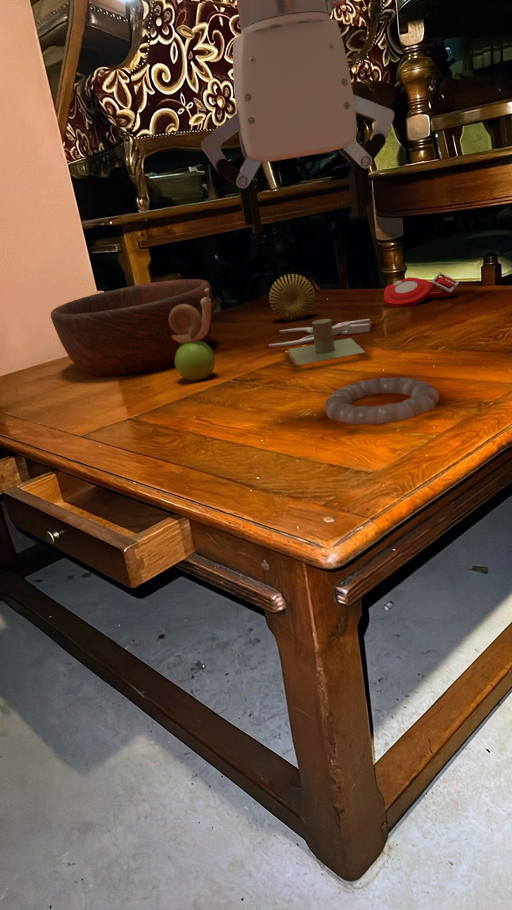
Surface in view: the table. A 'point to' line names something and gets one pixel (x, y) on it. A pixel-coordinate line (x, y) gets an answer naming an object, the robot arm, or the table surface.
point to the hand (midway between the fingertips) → (308, 224)
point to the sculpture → (292, 297)
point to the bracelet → (419, 403)
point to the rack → (324, 345)
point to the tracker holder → (417, 290)
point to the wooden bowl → (126, 326)
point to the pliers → (337, 329)
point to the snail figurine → (192, 340)
